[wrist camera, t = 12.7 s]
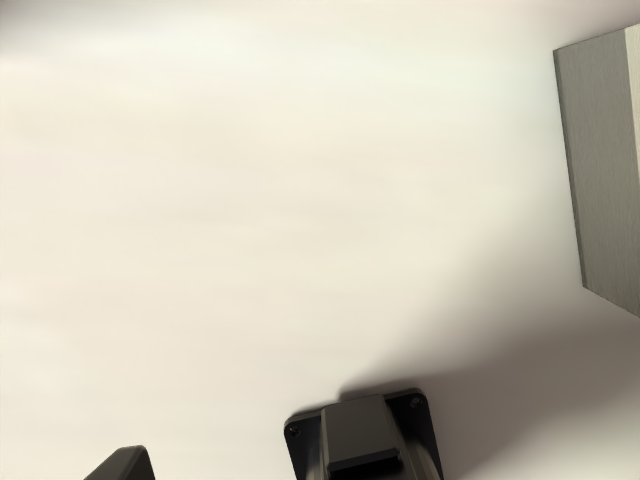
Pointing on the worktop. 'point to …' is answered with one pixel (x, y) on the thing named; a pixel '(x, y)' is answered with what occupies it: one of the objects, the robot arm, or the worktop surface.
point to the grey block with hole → (604, 159)
